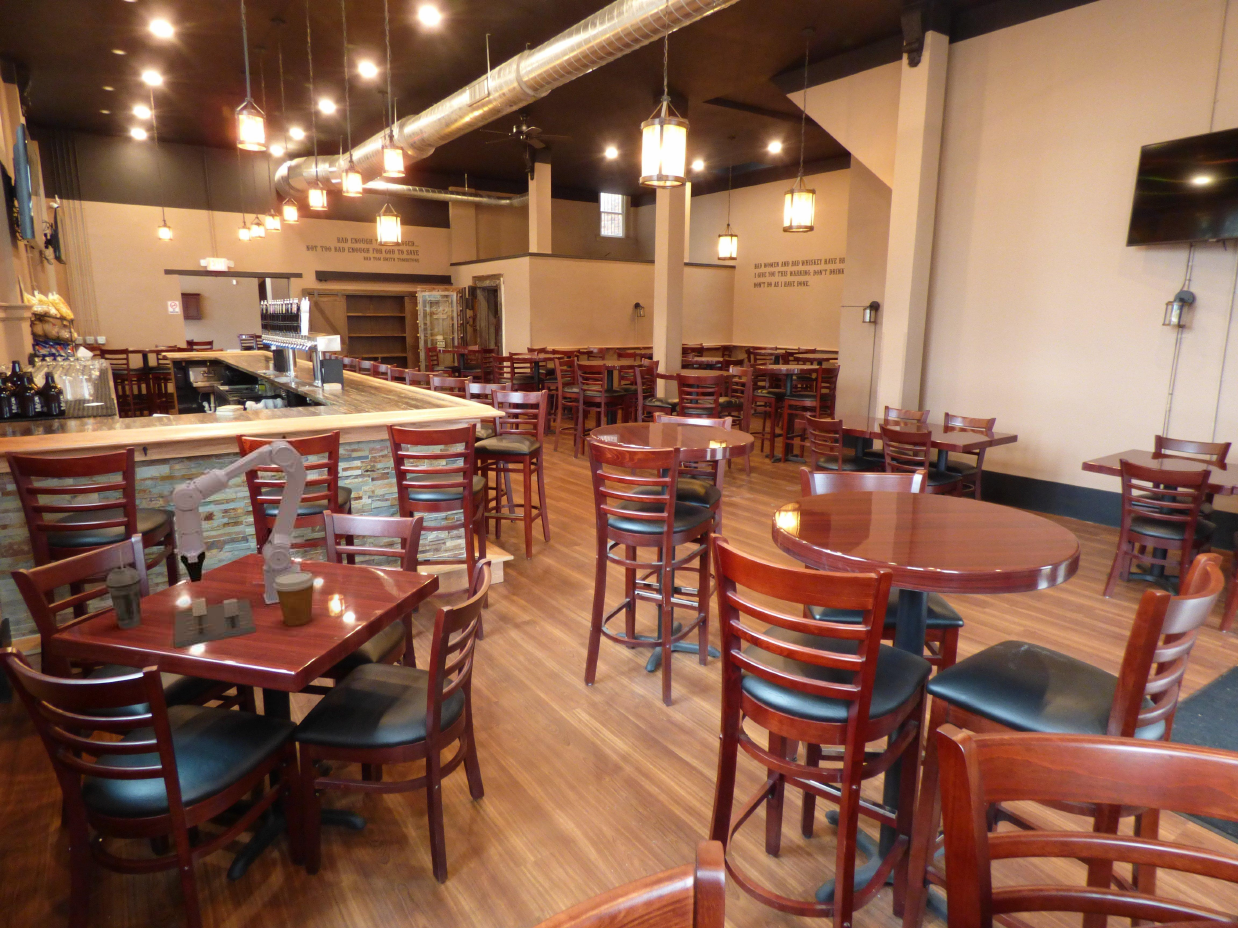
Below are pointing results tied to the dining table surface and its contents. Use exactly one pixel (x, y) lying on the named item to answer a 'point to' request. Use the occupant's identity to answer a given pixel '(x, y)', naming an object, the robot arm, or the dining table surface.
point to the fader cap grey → (230, 607)
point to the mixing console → (212, 624)
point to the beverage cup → (125, 595)
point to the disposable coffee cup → (295, 597)
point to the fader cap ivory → (199, 607)
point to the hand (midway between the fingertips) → (196, 580)
